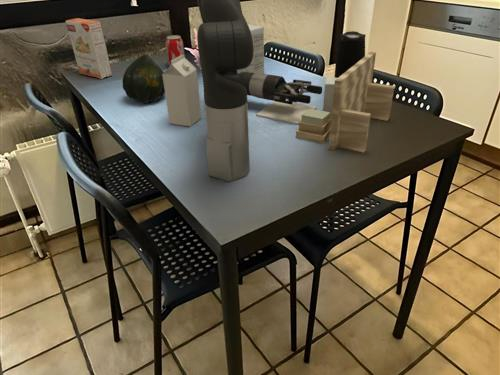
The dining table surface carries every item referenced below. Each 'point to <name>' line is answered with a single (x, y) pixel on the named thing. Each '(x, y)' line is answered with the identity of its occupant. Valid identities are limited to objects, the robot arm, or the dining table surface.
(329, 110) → the skincare box
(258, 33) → the supplement box
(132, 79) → the squash
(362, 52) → the portable speaker
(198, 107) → the milk carton
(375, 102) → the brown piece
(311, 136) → the pine offcut
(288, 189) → the dining table surface
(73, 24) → the cracker box
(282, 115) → the beige mat
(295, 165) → the dining table surface
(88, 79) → the dining table surface
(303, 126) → the oak offcut
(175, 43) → the soda can
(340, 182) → the dining table surface
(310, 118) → the sage offcut
